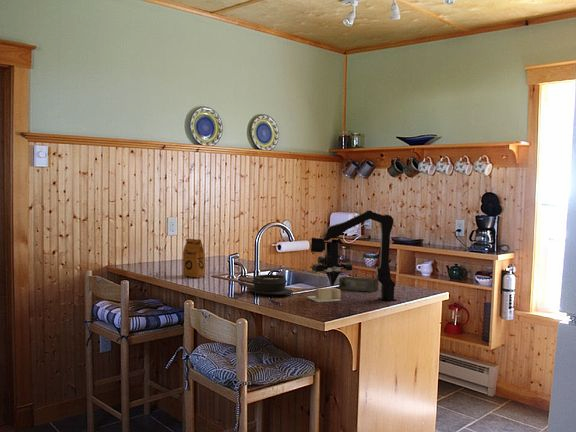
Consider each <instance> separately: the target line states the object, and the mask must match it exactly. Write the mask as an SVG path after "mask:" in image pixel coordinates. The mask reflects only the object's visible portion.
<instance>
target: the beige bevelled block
mask: <svg viewBox="0 0 576 432" xmlns="http://www.w3.org/2000/svg"><path fill="white" fill-rule="evenodd" d="M341 290H342V289H339V288H336V287H328V288H327V287H325V288H323V287H322V288H315V296H316V298H318V299H320V300H326V299H340V300H342V299H341V297H342V295H341V293H342V291H341Z"/></svg>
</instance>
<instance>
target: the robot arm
mask: <svg viewBox="0 0 576 432" xmlns="http://www.w3.org/2000/svg"><path fill="white" fill-rule="evenodd" d="M368 220H371V221H375V222H377V223H379V229H380V235H381V236H380V253H379V254H380V255H379V256H380V257H379V265H378V266H375V274H374V275H375V278H377V279H378V283H381V286H380V287H381V288H380V297H378V299H379V300H381V301H384V302H388V301H389V302H390V301H397V300H398V299H397V298H396V297H395V287H396V283H395V281H394V280H392V277H391V269H390V264H389V262H390V243H391V234H392V230H393V226H394V218H393V217H392V215H389V214H386V213H385V214H380V213H378V212H377V213H376V212H373V211H372V210H366V211H364V212H362V213H360V214H358V215H355V216H354V217H352V218H350V219H347V220H346V221H343V222H340V223H335V224H333V225H330V226H328V227H327V229H326V233H325V234H324V235H323V237H311V239H310V240H311V244H310V253H323V252H324V251H326V253H325V255H324V257H323V256H318V257H317V264H316V263H315V264H312V266H311V271H313V272H315V273H321V272H322V273H325V274H326V275H327V278H328V281H329V284H330V286H331V287H333V286H334V285H335V283H336V280H337V279H338V277H339V276H340V274H341V273H342V272H343V271H342V270H346V271H353V270H354V266H353V264H351V263H349V262H348V263H347V262H342V263H339V262H340V261H339V260H340V259H339V258H341V255H340V254H339V253H340V252H339V251H340V244H343V243H344V242H343V240H342V239H341V237H340V236H341V235H342V234H343V233H345V232H346V231H348V230H350V229H352V228H354V227H356V226H358V225H360V224H362V223H364V222H366V221H368ZM336 238H337V239H336Z"/></svg>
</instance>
